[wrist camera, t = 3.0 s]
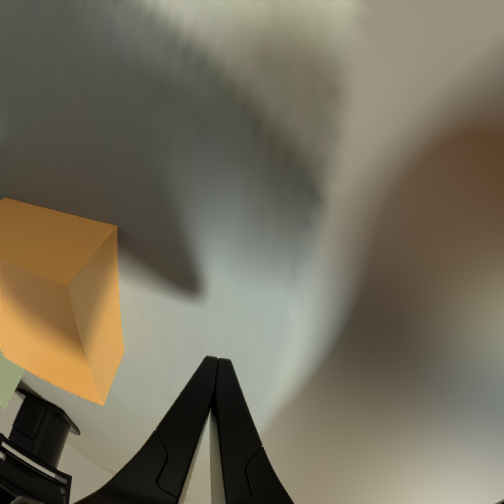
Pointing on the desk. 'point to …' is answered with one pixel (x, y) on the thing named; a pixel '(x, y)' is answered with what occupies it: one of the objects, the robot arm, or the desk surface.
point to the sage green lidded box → (8, 379)
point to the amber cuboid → (60, 297)
